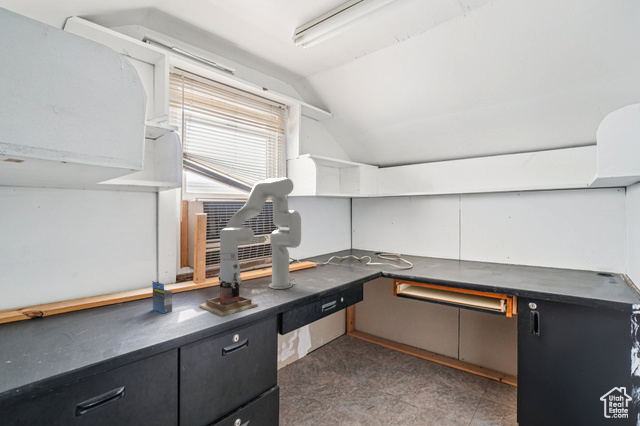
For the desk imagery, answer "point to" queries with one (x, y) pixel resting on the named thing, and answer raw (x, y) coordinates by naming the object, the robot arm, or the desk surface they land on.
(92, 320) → the desk surface
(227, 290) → the reddish brown box
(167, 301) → the label tape cartridge
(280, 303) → the desk surface
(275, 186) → the robot arm
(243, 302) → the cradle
